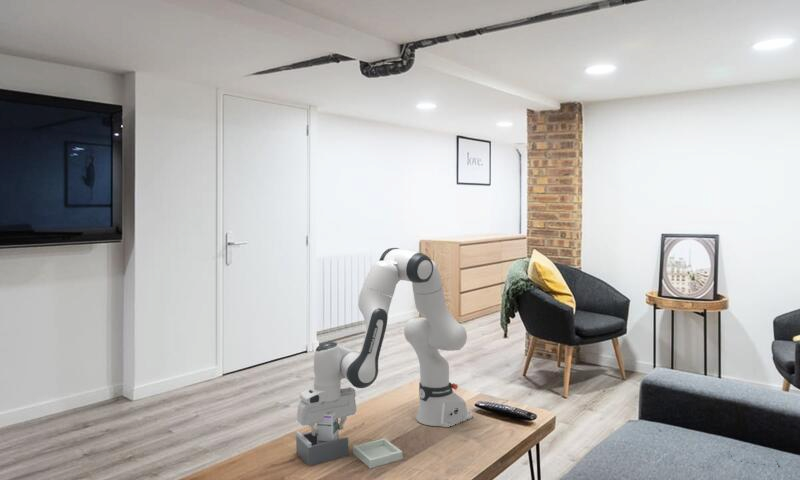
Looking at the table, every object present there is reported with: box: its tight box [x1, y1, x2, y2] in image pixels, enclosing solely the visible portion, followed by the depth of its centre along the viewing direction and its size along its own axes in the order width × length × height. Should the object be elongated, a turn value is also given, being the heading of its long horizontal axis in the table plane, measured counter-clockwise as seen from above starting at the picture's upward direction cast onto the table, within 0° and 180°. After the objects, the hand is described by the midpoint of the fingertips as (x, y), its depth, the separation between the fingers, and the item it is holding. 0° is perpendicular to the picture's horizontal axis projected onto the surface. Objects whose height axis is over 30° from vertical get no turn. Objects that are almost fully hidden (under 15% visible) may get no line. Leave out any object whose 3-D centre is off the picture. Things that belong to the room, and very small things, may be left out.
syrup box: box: [316, 412, 339, 444], centre depth 185 cm, size 6×6×14 cm
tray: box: [352, 438, 403, 469], centre depth 183 cm, size 12×12×3 cm
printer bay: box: [295, 430, 349, 467], centre depth 184 cm, size 14×11×7 cm
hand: (327, 432), depth 185 cm, fingers closed on syrup box, 8 cm apart
